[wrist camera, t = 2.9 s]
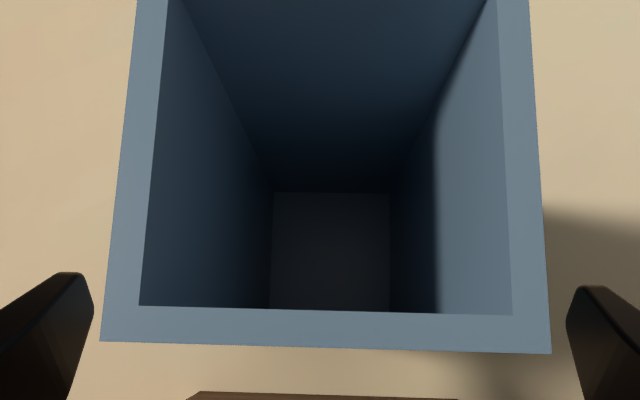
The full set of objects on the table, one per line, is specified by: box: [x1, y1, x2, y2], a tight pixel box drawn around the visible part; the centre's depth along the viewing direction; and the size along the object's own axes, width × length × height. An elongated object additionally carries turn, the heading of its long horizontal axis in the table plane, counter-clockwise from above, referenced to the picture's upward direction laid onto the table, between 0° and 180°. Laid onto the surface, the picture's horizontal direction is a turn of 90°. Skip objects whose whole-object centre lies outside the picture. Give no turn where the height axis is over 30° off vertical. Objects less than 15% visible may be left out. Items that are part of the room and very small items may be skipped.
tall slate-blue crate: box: [99, 0, 552, 354], centre depth 13 cm, size 5×5×13 cm
